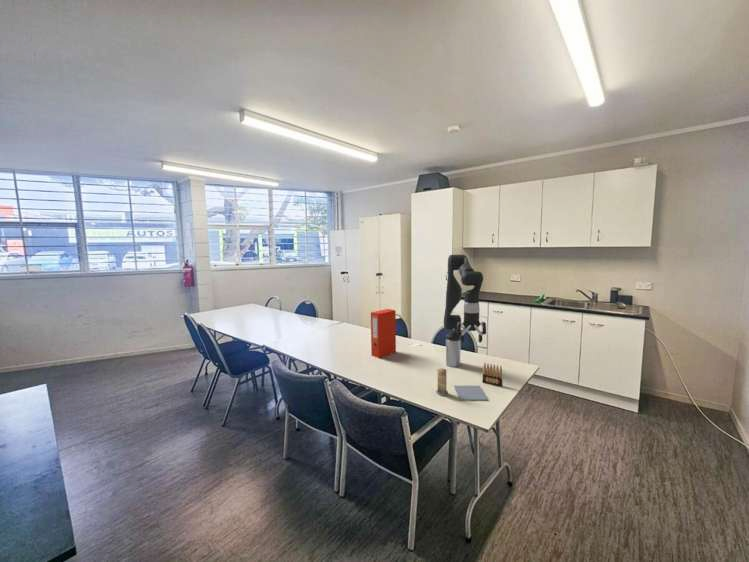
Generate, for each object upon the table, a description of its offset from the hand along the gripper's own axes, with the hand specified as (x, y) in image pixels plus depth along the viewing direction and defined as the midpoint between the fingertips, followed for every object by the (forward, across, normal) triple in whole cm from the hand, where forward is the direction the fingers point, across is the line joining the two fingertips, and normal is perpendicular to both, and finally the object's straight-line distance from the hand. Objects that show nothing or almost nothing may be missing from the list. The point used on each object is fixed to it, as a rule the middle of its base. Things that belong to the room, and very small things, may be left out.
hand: (471, 342), depth 162 cm
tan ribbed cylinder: (+29, +14, -4) cm, 33 cm away
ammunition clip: (+30, -16, -15) cm, 37 cm away
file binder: (+30, +46, -66) cm, 86 cm away
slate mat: (+29, -1, -4) cm, 30 cm away
